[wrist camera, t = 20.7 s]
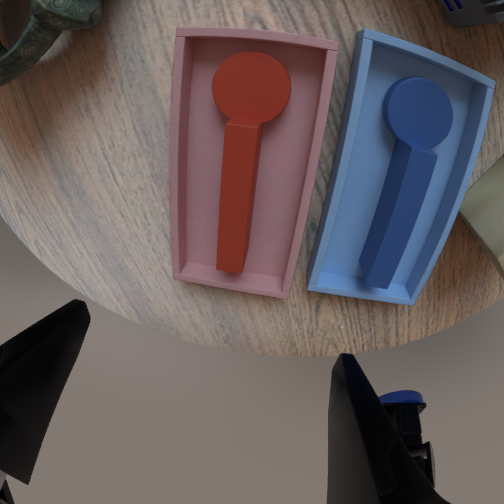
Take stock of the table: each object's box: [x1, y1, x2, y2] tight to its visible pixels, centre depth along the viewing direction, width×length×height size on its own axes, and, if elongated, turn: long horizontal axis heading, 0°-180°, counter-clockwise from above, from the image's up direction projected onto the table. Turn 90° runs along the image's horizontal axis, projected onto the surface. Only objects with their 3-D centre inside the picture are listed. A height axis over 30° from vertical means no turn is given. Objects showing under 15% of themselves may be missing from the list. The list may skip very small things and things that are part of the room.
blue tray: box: [307, 29, 495, 306], centre depth 15 cm, size 15×8×2 cm, turn 174°
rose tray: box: [170, 27, 340, 299], centre depth 16 cm, size 15×8×2 cm, turn 174°
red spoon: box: [212, 51, 291, 274], centre depth 15 cm, size 12×4×2 cm, turn 174°
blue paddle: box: [359, 77, 453, 289], centre depth 14 cm, size 12×4×2 cm, turn 174°
